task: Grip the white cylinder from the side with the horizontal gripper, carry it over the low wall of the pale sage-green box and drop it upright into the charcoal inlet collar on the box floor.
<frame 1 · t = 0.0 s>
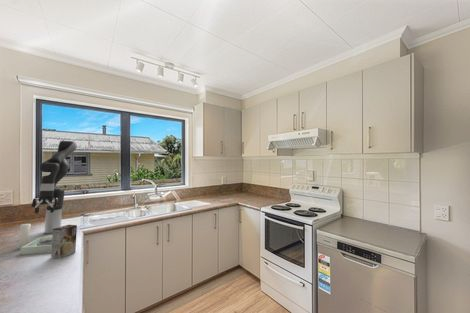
hand: (44, 213, 143), 17 cm above the counter, tool pointing down, fingers open, 8 cm apart
white cylinder: (23, 247, 124), on the counter
coffee box: (63, 255, 116), on the counter
sage box: (46, 247, 126), on the counter
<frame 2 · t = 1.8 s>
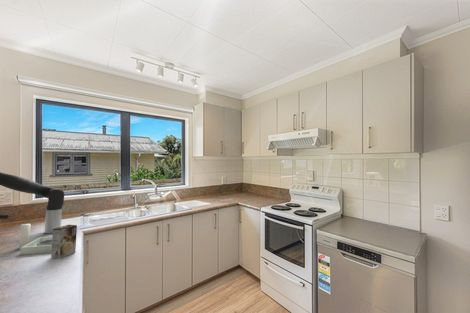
hand: (3, 218, 122), 18 cm above the counter, tool horizontal, fingers open, 8 cm apart
nothing on the counter moved.
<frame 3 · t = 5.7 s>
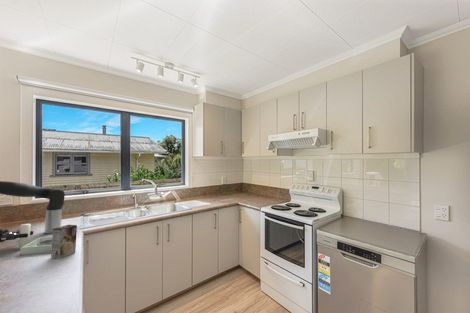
hand: (30, 234, 126), 8 cm above the counter, tool horizontal, fingers closed on white cylinder, 4 cm apart
white cylinder: (23, 247, 124), on the counter, touching gripper
everything else where it was.
when the fingers open (10 cm above the counter, at t = 11.6 s): white cylinder stays where it is, resting on sage box.
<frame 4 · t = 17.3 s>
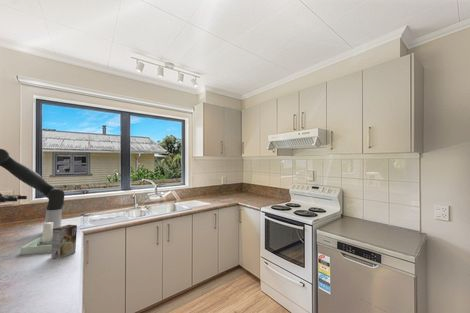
hand: (22, 198, 127), 30 cm above the counter, tool horizontal, fingers open, 8 cm apart
white cylinder: (46, 245, 126), point 1 cm above the counter, touching sage box
everything else where it was.
at the end: white cylinder 0.1 cm off-centre on the sage box, point 1.0 cm above the sage box's base; white cylinder tilted 0°; the gripper is holding nothing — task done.
